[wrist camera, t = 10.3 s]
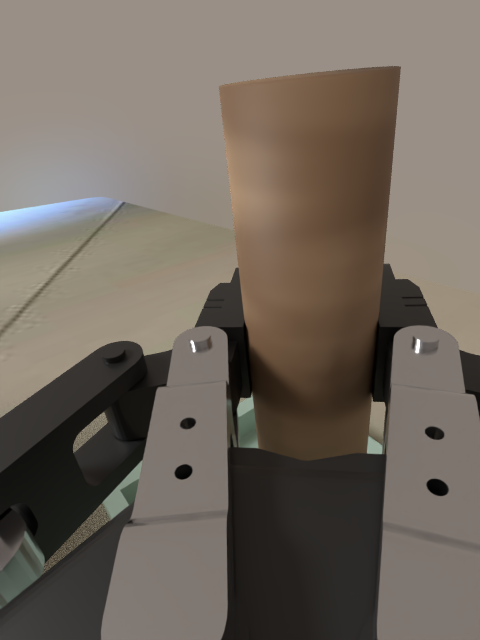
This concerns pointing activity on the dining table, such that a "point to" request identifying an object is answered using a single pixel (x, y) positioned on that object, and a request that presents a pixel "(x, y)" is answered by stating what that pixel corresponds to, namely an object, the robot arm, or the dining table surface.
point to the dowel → (311, 248)
